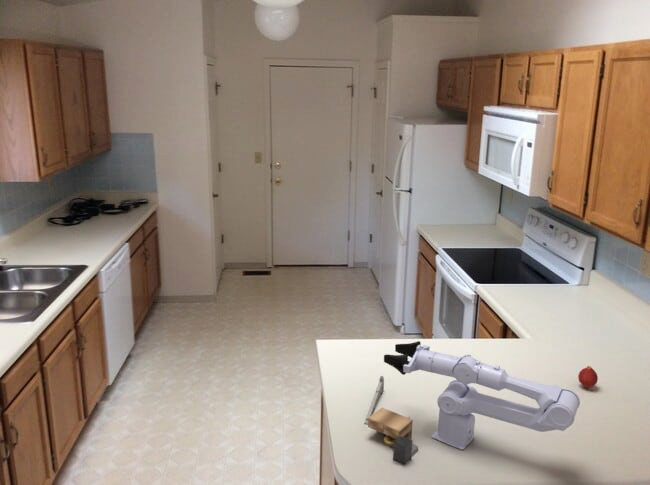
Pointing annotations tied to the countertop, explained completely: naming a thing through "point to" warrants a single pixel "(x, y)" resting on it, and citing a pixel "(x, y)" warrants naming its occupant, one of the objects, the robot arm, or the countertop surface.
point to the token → (389, 440)
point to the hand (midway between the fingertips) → (390, 352)
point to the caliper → (375, 397)
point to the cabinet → (391, 424)
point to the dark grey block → (403, 450)
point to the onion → (588, 377)
